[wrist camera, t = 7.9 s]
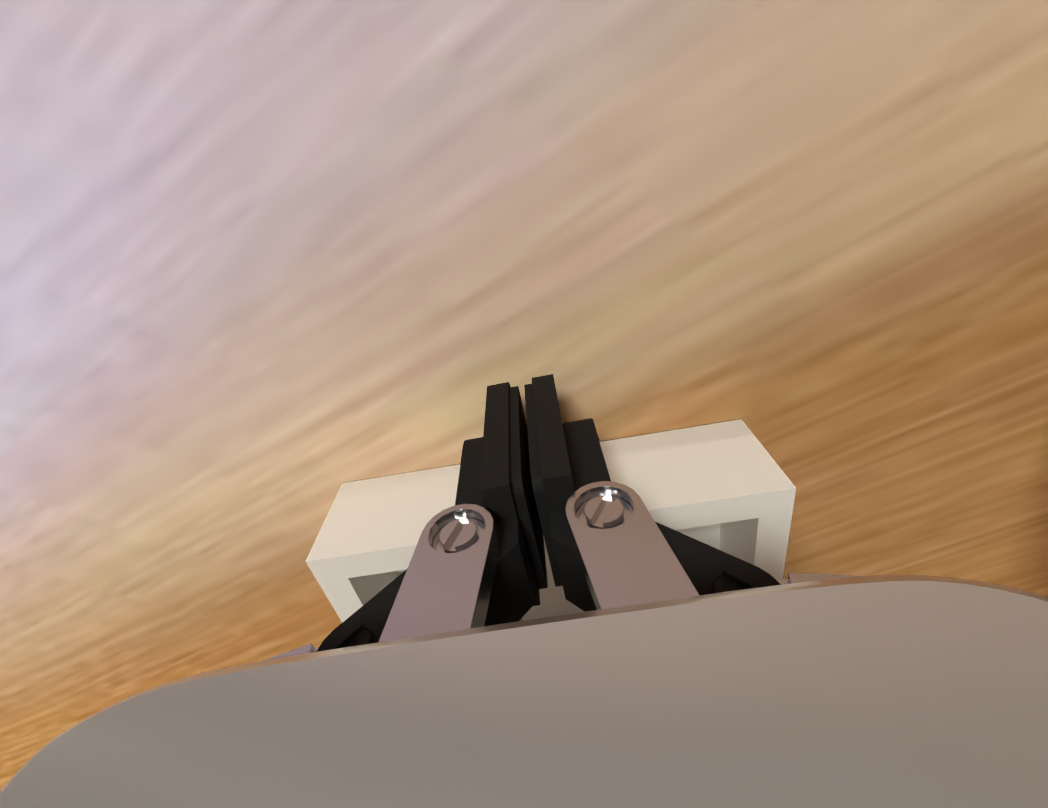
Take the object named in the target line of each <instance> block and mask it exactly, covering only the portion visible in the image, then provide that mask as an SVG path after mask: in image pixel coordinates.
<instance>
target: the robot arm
mask: <svg viewBox="0 0 1048 808" xmlns="http://www.w3.org/2000/svg"><path fill="white" fill-rule="evenodd" d="M525 400H526V415H527V424H526V419H525V415H524V410H523V405H522V401H521V396H520V392H519V388H518V386H517V387H510V384H509V382H507V383H502V384H496V385H491V386H487V397H486V410H485V423H484V436H483V437H481V438H475V439H470V440H465V441H464V444H463V450H462V457H461V464H460V472H459V479H458V486H457V493H456V501H455V506H452V507H450V508H447V509H444V510H443V511H441V512H440V513H438V514H436V515H435V516H434V517H433V518H432V519H431V520H430V521H429V522H428V523H427V524H426V526H425V527H424V529H423V531H422V533H421V536H420V538H419V541H418V543H417V546H416V548H415V551H414V553H413V556H412V558H411V561H410V563H409V566H408V568H407V569H406V570H405V571H404V572H403V573H401V574H400V575H399V576H398V577H397V578H395V579H394V580H393V581H392V582H391V583H389V584H388V585H387V586H386V587H385V588H383V589H382V590H381V591H380V592H379V593H377V594H376V595H375V596H374V597H373V598H371V599H370V600H369V601H368V602H367V603H365V604H364V605H363V606H362V607H361V608H359V609H358V610H357V611H356V612H355V613H353V614H352V615H351V616H350V617H349V618H347V619H346V620H345V621H344V622H343V623H341V624H340V625H339V626H338V627H337V628H335V629H334V630H333V631H332V632H331V633H330V634H329V635H328V636H327V637H326V638H325V639H324V641H323V642H322V644H321V645H320V647H318V648H314V647H313V645H312V644H308V645H305V646H302V647H299V648H297V649H294V650H291V651H288V652H286V653H283V654H280V655H277V656H275V657H272V658H269V659H266V660H263V661H260V662H254V663H248V664H243V665H238V666H233V667H228V668H223V669H218V670H213V671H209V672H204V673H200V674H196V675H193V676H189V677H186V678H182V679H178V680H175V681H171V682H168V683H165V684H162V685H159V686H157V687H154V688H151V689H148V690H146V691H143V692H140V693H138V694H135V695H132V696H130V697H128V698H126V699H124V700H122V701H120V702H118V703H116V704H114V705H111V706H109V707H107V708H105V709H103V710H101V711H99V712H97V713H95V714H93V715H92V716H90V717H88V718H86V719H85V720H83V721H81V722H79V723H78V724H76V725H74V726H73V727H71V728H69V729H68V730H66V731H65V732H63V733H62V734H60V735H59V736H57V737H56V738H54V739H53V740H52V741H50V742H49V743H48V744H47V745H45V746H44V747H43V748H42V749H41V750H39V751H38V752H37V753H36V754H35V755H34V756H32V757H31V758H30V759H29V760H28V761H27V762H26V763H25V764H24V765H23V766H22V767H21V768H20V769H19V770H18V771H17V772H16V774H15V775H14V776H13V777H12V778H11V779H10V780H9V781H8V782H7V783H6V785H5V786H4V787H3V788H2V789H1V790H0V808H1048V597H1047V596H1044V595H1040V594H1037V593H1033V592H1030V591H1026V590H1022V589H1018V588H1013V587H1009V586H1004V585H1000V584H993V583H987V582H980V581H973V580H967V579H960V578H953V577H938V576H922V575H873V576H850V575H828V574H806V573H788V579H775V578H774V577H773V576H771V575H770V574H769V573H767V572H766V571H764V570H762V569H760V568H759V567H757V566H755V565H753V564H750V563H748V562H746V561H744V560H741V559H739V558H737V557H734V556H732V555H730V554H728V553H725V552H723V551H721V550H719V549H716V548H714V547H712V546H710V545H707V544H705V543H703V542H701V541H698V540H696V539H694V538H691V537H689V536H687V535H685V534H682V533H680V532H678V531H676V530H673V529H671V528H669V527H667V526H664V525H662V524H660V523H658V522H655V521H654V519H653V518H652V516H651V514H650V513H649V511H648V510H647V508H646V506H645V505H644V503H643V501H642V500H641V498H640V496H639V495H638V494H637V493H636V492H635V491H634V490H633V489H632V488H630V487H628V486H626V485H624V484H621V483H617V482H611V479H610V476H609V472H608V469H607V466H606V462H605V459H604V456H603V452H602V449H601V445H600V442H599V439H598V435H597V432H596V428H595V425H594V422H593V419H592V418H590V419H585V420H579V421H573V422H567V423H562V420H561V415H560V410H559V404H558V399H557V394H556V388H555V383H554V378H553V374H551V375H546V376H540V377H535V378H532V384H528V385H525ZM543 535H544V537H543ZM544 540H545V544H546V548H547V553H548V557H549V561H550V566H551V570H552V574H553V579H554V583H555V586H556V587H558V586H563V590H564V594H565V599H566V600H568V601H569V602H571V603H572V604H574V605H575V606H577V607H578V608H580V609H581V610H583V611H584V612H580V613H573V614H566V615H559V616H552V617H545V618H538V619H532V620H525V621H523V618H522V617H523V616H524V615H525V614H526V613H527V612H528V611H529V610H530V609H531V607H532V606H538V605H540V593H539V589H544V588H548V581H547V570H546V559H545V548H544Z"/></svg>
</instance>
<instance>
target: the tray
mask: <svg viewBox="0 0 1048 808" xmlns="http://www.w3.org/2000/svg"><path fill="white" fill-rule="evenodd" d="M600 445H601V449H602V452H603V456H604V459H605V462H606V466H607V469H608V472H609V476H610V479H611V482H617V483H621V484H624V485H626V486H628V487H630V488H632V489H633V490H634V491H635V492H636V493H637V494H638V495H639V496H640V498H641V500H642V501H643V503H644V505H645V506H646V508H647V510H648V511H649V513H650V514H651V516H652V518H653V519H654V521H655V522H658V523H660V524H662V525H664V526H667V527H669V528H671V529H673V530H676V531H678V532H680V533H682V534H685V535H687V536H689V537H691V538H694V539H696V540H698V541H701V542H703V543H705V544H707V545H710V546H712V547H714V548H716V549H719V550H721V551H723V552H725V553H728V554H730V555H732V556H734V557H737V558H739V559H741V560H744V561H746V562H748V563H750V564H753V565H755V566H757V567H759V568H760V569H762V570H764V571H766V572H767V573H769V574H770V575H771V576H773V577H774V578H775V579H782V578H783V572H784V565H785V559H786V552H787V545H788V539H789V532H790V526H791V519H792V512H793V506H794V499H795V493H796V487H795V486H794V485H793V483H792V482H791V481H790V480H789V478H788V477H787V476H786V475H785V473H784V472H783V471H782V470H781V468H780V467H779V466H778V465H777V463H776V462H775V461H774V460H773V458H772V457H771V456H770V455H769V453H768V452H767V451H766V449H765V448H764V447H763V446H762V444H761V443H760V442H759V441H758V439H757V438H756V437H755V436H754V434H753V433H752V432H751V431H750V429H749V428H748V427H747V426H746V424H745V423H744V422H743V421H742V419H741V420H735V421H728V422H722V423H716V424H710V425H703V426H697V427H691V428H685V429H678V430H672V431H666V432H660V433H653V434H647V435H641V436H635V437H629V438H622V439H616V440H610V441H604V442H600ZM459 472H460V465H454V466H448V467H441V468H435V469H429V470H423V471H416V472H410V473H404V474H398V475H392V476H385V477H379V478H373V479H367V480H360V481H354V482H348V483H342V485H341V487H340V489H339V491H338V493H337V496H336V498H335V500H334V502H333V504H332V506H331V508H330V510H329V513H328V515H327V517H326V519H325V521H324V523H323V525H322V528H321V530H320V532H319V534H318V536H317V538H316V540H315V542H314V545H313V547H312V549H311V551H310V553H309V555H308V557H307V560H306V563H307V565H308V566H309V568H310V570H311V571H312V573H313V575H314V576H315V578H316V580H317V581H318V583H319V585H320V586H321V588H322V590H323V591H324V593H325V595H326V596H327V598H328V600H329V601H330V603H331V605H332V606H333V608H334V610H335V611H336V613H337V615H338V616H339V618H340V620H341V621H342V623H343V622H344V621H345V620H346V619H347V618H349V617H350V616H351V615H352V614H353V613H355V612H356V611H357V610H358V609H359V608H361V607H362V606H363V605H364V604H365V603H367V602H368V601H369V600H370V599H371V598H373V597H374V596H375V595H376V594H377V593H379V592H380V591H381V590H382V589H383V588H385V587H386V586H387V585H388V584H389V583H391V582H392V581H393V580H394V579H395V578H397V577H398V576H399V575H400V574H401V573H403V572H404V571H405V570H406V569H407V568H408V566H409V563H410V561H411V558H412V556H413V553H414V551H415V548H416V546H417V543H418V541H419V538H420V536H421V533H422V531H423V529H424V527H425V526H426V524H427V523H428V522H429V521H430V520H431V519H432V518H433V517H434V516H435V515H436V514H438V513H440V512H441V511H443V510H444V509H447V508H450V507H452V506H455V501H456V493H457V486H458V479H459ZM543 537H544V535H543ZM544 548H545V559H546V570H547V581H548V588H544V589H539V593H540V605H538V606H532V607H531V609H530V610H529V611H528V612H527V613H526V614H525V615H524V616H523V617H522V618H523V621H525V620H532V619H538V618H545V617H552V616H559V615H566V614H573V613H580V612H584V611H583V610H581V609H580V608H578V607H577V606H575V605H574V604H572V603H571V602H569V601H568V600H566V599H565V594H564V590H563V586H558V587H556V586H555V583H554V579H553V574H552V570H551V566H550V561H549V557H548V553H547V548H546V544H545V540H544Z"/></svg>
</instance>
